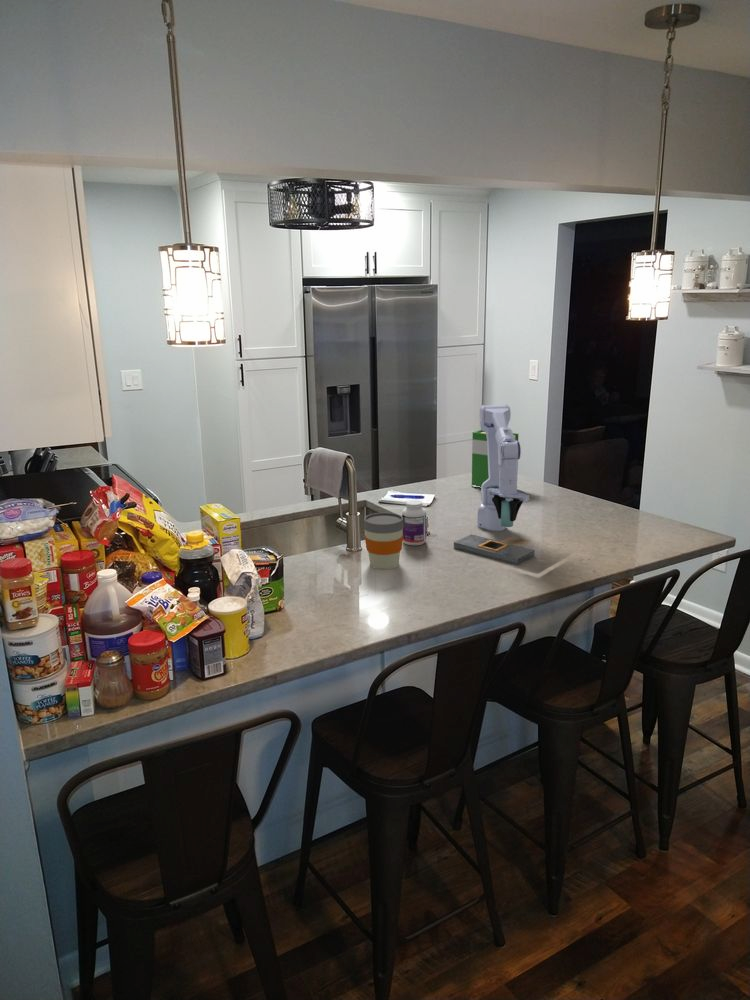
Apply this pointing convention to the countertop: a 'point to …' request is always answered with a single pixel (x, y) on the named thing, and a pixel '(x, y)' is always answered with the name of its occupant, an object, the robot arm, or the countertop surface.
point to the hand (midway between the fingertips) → (507, 519)
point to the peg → (505, 514)
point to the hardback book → (481, 458)
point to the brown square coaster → (515, 540)
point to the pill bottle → (414, 523)
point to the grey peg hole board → (499, 552)
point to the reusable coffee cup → (384, 539)
